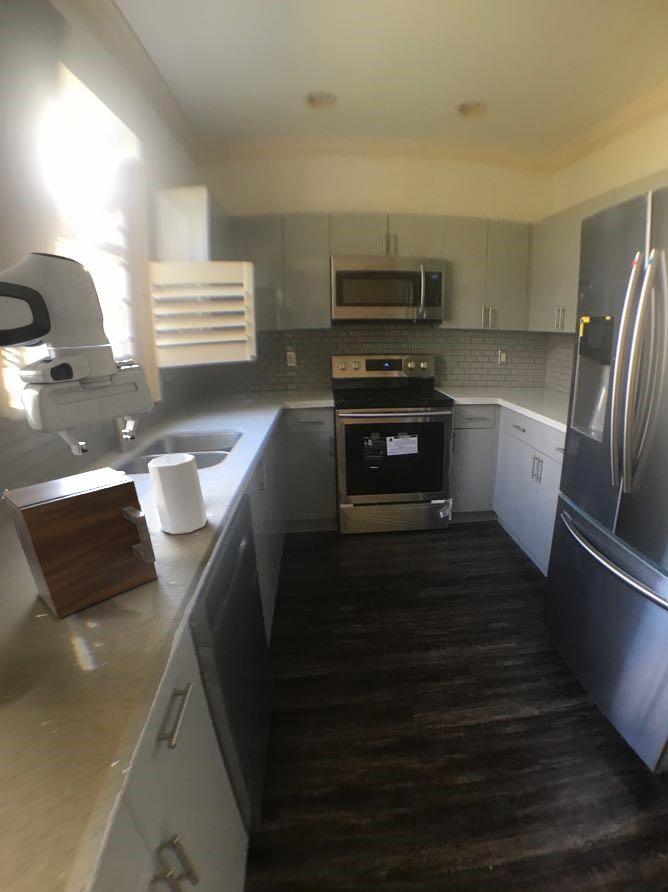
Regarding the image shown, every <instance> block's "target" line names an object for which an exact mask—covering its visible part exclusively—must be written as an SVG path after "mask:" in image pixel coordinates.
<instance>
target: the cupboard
mask: <svg viewBox="0 0 668 892" xmlns="http://www.w3.org/2000/svg"><path fill="white" fill-rule="evenodd" d="M131 479H132V478H131V477H129V476H127V475H126V476H125V475H123V474H121V473H119V472H117V470H114V469H112V468H110V467H104V468H100V469H95V470H91V471H87V472H83V473H79V474H74V475H71V476H66V477H62V478H58V479H53V480H50V481H45V482H40V483H36V484H32V485H28V486H24V487H20V488H14V489H10V490H7V491H3V492H2V496H3V500H4V501H5V504H6V507H7V510H8V513H9V515H10V518H11V521H12V523H13V527H14V529H15V531H16V534H17V537H18V540H19V542H20V546H21V548H22V551H23V554H24V556H25V559H26V562H27V566H28V568H29V570H30V573H31V575H32V578H33V581H34V584H35V587H36V589H37V593H38V595H39V596H40V598H42V600H43V601H44V602H45V604H46V605H47V606H48V607H49V609H50V610H51V612H52V613H54V615H55V616H56V617H57V614H56V611H55V609H54V606H53V603H52V600H51V597H50V594H49V592H48V589H47V586H46V583H45V580H44V578H43V575H42V572H41V569H40V566H39V563H38V561H37V558H36V555H35V552H34V549H33V546H32V544H31V541H30V538H29V535H28V532H27V529H26V527H25V524H24V521H23V518H22V515H21V512H20V510H19V509H20V508H24V507H28V506H31V505H35V504H39V503H43V502H47V501H51V500H55V499H58V498H62V497H66V496H70V495H74V494H78V493H81V492H85V491H89V490H93V489H97V488H101V487H105V486H108V485H112V484H116V483H120V482H124V481H128V480H131Z"/></svg>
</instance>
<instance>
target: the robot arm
mask: <svg viewBox="0 0 668 892" xmlns="http://www.w3.org/2000/svg"><path fill="white" fill-rule="evenodd" d="M42 345H46V347H47V352H48V355H46V356H45V357H43V358H41V359H38V360H35V361H33V362H31V363H29V364H27V365H25V366H22V367H21V368H19V370H18V376H19V378H20V380H21V381H22V382H24V383H27V384H25V386H23V389H22V393H21V394H22V403H23V407H24V412H25V416H26V419H27V422H28V424H29V427H30V428H31V429H33V430H34V431H35V432H37V433H41V434H52V433H53V434H54V433H57V432H58V435H59V437H60V438H62V439H63V440H64V441H65V442H66V443H67V444H68V445H70V450H71V452H72V454H73V455H75V456H81V455H83V454H87V453H88V449H87V443H86V442H81V441H79V440H78V439H77V438H76V437H75V435H76V430H75V429H76V428H79V427H84V426H88V425H92V424H98V423H101V422H106V421H111V420H114V419H115V420H116V419H119V418H123V420H124V421H126V425H125V429H124V430H121V433H122V437H123V438H122V439H123V440H124V441H128V442H131V441H134V440H137V439H138V436H137V432H136V431H137V427H138V424H139V421H140V418H139V414H141V413H145V412H146V413H147V412H151V411H152V410H153V408H154V405H155V401H154V397H153V394H152V391H151V389H150V386H149V384H148V381H147V379H146V374H145V370H144V367H143V366H142V365H141V364H140V363H139V362H136V361H135V360H133V359H127V360H123V361H121V360H117V361H116V359H115V355H114V351H113V348H112V343H111V340H110V339H109V336H108V335H107V333H106V329H105V315H104V311H103V307H102V303H101V299H100V296H99V293H98V290H97V286H96V284H95V281H94V279H93V276H92V275H91V273H90V271H89V269H87V268H86V267H85V265H83V264H82V263H80V262H78V260H75V259H73V258H71V257H66V256H62V255H58V254H53V253H48V252H31V253H30V252H29V253H27V254H26V255H25V256H24V257H23V258H22V259H21V260H19V262H17V263H16V264H14V265H12V266H9V268H6V269H4V270H2V271H0V348H21V347H25V348H35V347H39V346H42Z"/></svg>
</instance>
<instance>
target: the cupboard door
mask: <svg viewBox="0 0 668 892" xmlns="http://www.w3.org/2000/svg"><path fill="white" fill-rule="evenodd" d="M139 503H140V500H139V496H138V492H137V487H136V484H135V480H134V479H132V478H131V480H128V481H124V482H120V483H116V484H112V485H108V486H105V487H101V488H97V489H93V490H89V491H85V492H81V493H78V494H74V495H70V496H66V497H62V498H58V499H55V500H51V501H47V502H43V503H39V504H35V505H31V506H28V507H24V508H20V509H19V510H20V512H21V515H22V518H23V521H24V524H25V527H26V529H27V532H28V535H29V538H30V541H31V544H32V546H33V549H34V552H35V555H36V558H37V561H38V563H39V566H40V569H41V572H42V575H43V578H44V580H45V583H46V586H47V589H48V592H49V594H50V597H51V600H52V603H53V606H54V609H55V611H56V614H57V616H56V617H57V618H58V619H62V618H64V617H66V616H69V615H72V614H74V613H76V612H78V611H81V610H83V609H86V608H89V607H91V606H93V605H95V604H98V603H100V602H102V601H105V600H107V599H110V598H112V597H114V596H117V595H119V594H122V593H124V592H126V591H128V590H129V591H130V590H131V589H134V588H136V587H139V586H140V585H144V584H145V583H148V582H151V581H153V580H155V579H157V578H158V573H157V569H156V565H155V562H156V554H155V550H154V548H153V541H152V539H151V535H150V531H149V526H148V522H147V519H146V518H147V517H146V514H145V513H144V512H143V511H142V512H141V509H142V507H141V508H140V505H141V503H140V504H139Z"/></svg>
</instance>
